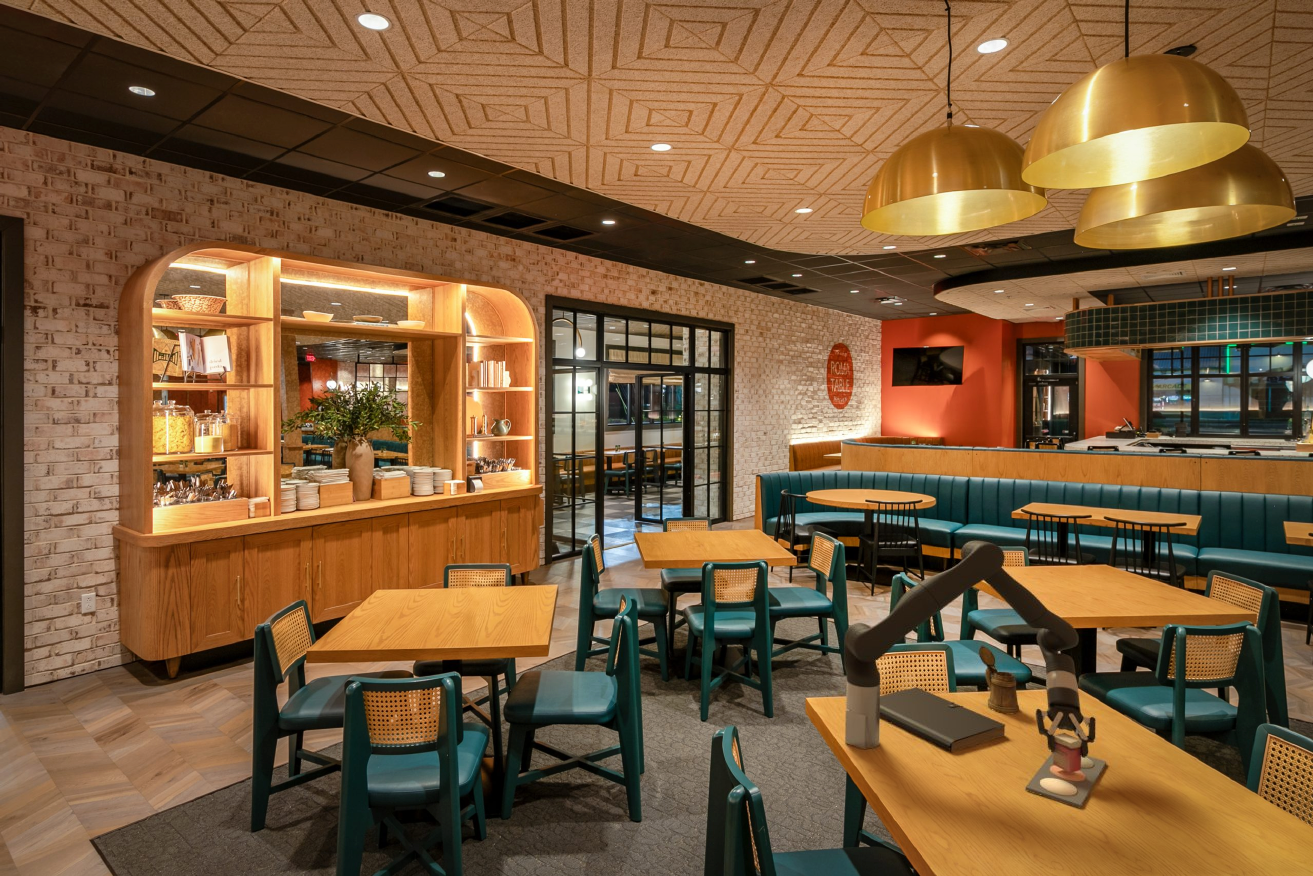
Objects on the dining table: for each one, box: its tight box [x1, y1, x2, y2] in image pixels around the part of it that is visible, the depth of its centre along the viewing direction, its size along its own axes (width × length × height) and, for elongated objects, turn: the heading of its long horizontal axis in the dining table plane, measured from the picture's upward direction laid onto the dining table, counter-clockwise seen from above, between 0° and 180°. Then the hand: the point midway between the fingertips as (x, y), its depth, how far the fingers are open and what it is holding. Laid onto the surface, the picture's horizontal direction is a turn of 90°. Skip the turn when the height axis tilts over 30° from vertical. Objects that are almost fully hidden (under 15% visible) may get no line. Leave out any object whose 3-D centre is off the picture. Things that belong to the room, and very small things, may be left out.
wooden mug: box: [978, 644, 1020, 714], centre depth 227 cm, size 9×14×18 cm, turn 24°
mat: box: [1025, 752, 1107, 809], centre depth 181 cm, size 30×12×1 cm, turn 137°
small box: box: [1053, 732, 1082, 773], centre depth 181 cm, size 5×4×8 cm
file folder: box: [880, 687, 1006, 753], centre depth 214 cm, size 33×4×24 cm
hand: (1068, 753), depth 179 cm, fingers closed on small box, 6 cm apart
